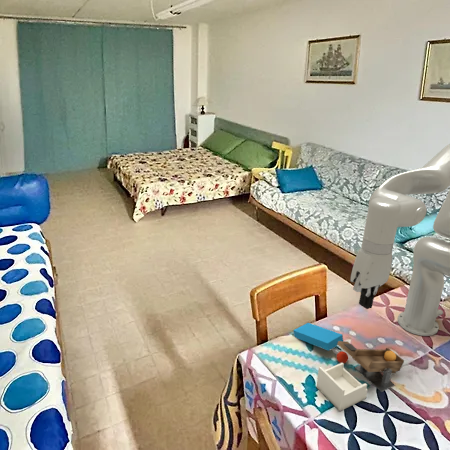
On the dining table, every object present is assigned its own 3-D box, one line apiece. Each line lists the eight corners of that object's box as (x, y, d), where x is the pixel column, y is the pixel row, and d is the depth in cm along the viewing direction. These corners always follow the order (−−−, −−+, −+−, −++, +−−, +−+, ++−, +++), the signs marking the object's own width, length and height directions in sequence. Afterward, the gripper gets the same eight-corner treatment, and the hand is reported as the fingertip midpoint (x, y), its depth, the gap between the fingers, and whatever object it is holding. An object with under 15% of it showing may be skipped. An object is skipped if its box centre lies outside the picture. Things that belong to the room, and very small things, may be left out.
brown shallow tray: (364, 348, 123) (370, 335, 122) (397, 374, 112) (404, 360, 111) (334, 347, 115) (340, 333, 114) (366, 376, 105) (374, 361, 104)
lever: (296, 350, 130) (340, 369, 115) (293, 330, 129) (337, 347, 114) (310, 342, 134) (355, 359, 119) (308, 322, 132) (352, 338, 118)
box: (341, 375, 113) (344, 356, 110) (366, 398, 106) (370, 377, 103) (316, 387, 109) (318, 367, 106) (339, 411, 102) (343, 390, 99)
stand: (367, 362, 118) (369, 347, 116) (394, 385, 110) (398, 370, 108) (354, 368, 116) (357, 353, 114) (381, 392, 108) (384, 376, 105)
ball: (387, 356, 116) (391, 347, 115) (396, 363, 113) (400, 354, 112) (380, 358, 114) (383, 349, 113) (389, 365, 111) (392, 356, 110)
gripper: (385, 236, 109) (373, 293, 116) (345, 244, 103) (335, 305, 109) (408, 246, 103) (394, 306, 110) (367, 256, 97) (355, 320, 103)
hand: (365, 306), depth 110 cm, fingers closed
